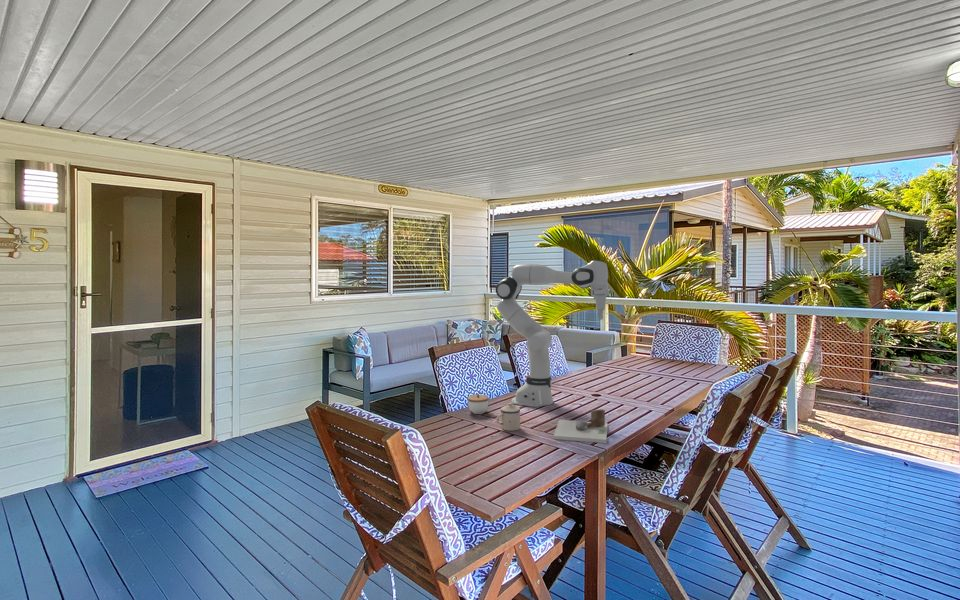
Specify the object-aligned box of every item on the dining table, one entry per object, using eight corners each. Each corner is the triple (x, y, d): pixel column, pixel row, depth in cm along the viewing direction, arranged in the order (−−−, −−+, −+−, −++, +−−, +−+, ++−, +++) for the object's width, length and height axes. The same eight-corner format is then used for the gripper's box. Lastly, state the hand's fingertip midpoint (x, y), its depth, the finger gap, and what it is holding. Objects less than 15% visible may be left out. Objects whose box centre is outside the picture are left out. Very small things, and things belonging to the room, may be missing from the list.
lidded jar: (480, 407, 265) (480, 390, 264) (493, 412, 256) (492, 394, 255) (463, 411, 258) (463, 393, 257) (476, 416, 250) (475, 398, 249)
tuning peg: (579, 430, 221) (579, 414, 221) (573, 427, 226) (573, 411, 226) (606, 426, 226) (606, 411, 226) (600, 423, 231) (600, 408, 230)
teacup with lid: (513, 423, 239) (513, 399, 238) (524, 428, 231) (524, 403, 230) (491, 428, 233) (491, 403, 232) (502, 433, 225) (502, 408, 224)
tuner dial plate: (553, 439, 217) (553, 435, 217) (559, 422, 238) (559, 419, 238) (606, 443, 211) (606, 439, 211) (607, 426, 232) (607, 422, 232)
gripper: (592, 293, 266) (593, 319, 265) (593, 291, 246) (594, 319, 245) (605, 293, 265) (606, 319, 264) (607, 290, 245) (608, 319, 244)
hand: (600, 319), depth 254 cm, fingers open, 8 cm apart
